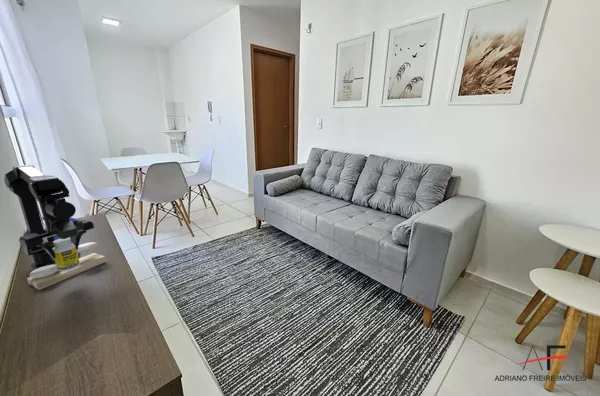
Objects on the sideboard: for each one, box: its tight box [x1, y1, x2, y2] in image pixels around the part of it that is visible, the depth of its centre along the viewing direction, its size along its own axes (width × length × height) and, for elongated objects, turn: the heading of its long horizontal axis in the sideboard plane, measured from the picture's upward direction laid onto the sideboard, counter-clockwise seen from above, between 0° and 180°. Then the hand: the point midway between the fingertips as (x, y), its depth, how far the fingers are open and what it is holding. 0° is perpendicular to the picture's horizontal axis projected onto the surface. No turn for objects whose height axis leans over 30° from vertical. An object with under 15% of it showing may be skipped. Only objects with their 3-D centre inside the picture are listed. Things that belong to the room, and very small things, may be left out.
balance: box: [27, 241, 107, 291], centre depth 101 cm, size 8×22×8 cm, turn 155°
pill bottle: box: [52, 237, 80, 271], centre depth 91 cm, size 6×6×11 cm
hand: (65, 253), depth 91 cm, fingers closed on pill bottle, 6 cm apart
